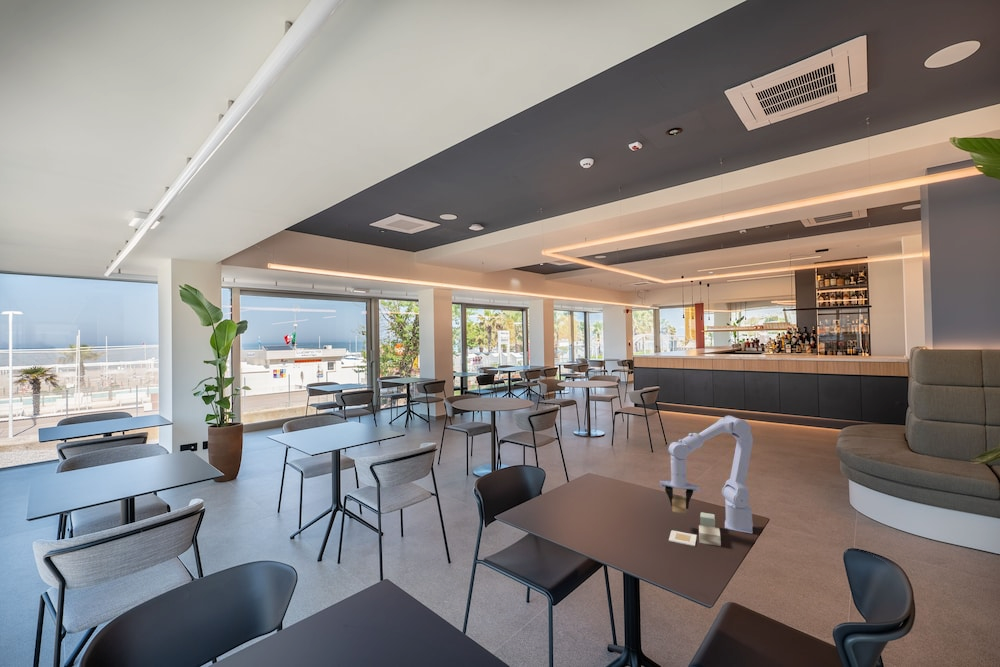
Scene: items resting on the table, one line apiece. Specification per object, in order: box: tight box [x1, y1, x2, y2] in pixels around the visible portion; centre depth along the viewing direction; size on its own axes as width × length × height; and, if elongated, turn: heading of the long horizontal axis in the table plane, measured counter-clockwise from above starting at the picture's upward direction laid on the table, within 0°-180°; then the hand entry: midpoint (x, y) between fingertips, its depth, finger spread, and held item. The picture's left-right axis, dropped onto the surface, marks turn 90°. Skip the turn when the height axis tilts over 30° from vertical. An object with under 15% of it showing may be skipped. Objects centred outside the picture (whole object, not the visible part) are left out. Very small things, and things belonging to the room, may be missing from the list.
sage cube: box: [699, 511, 716, 527], centre depth 165 cm, size 5×5×5 cm
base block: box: [698, 524, 722, 547], centre depth 155 cm, size 7×7×4 cm
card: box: [668, 530, 697, 547], centre depth 156 cm, size 9×9×1 cm
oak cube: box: [671, 494, 688, 515], centre depth 165 cm, size 5×5×5 cm
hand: (679, 506), depth 165 cm, fingers closed on oak cube, 5 cm apart
